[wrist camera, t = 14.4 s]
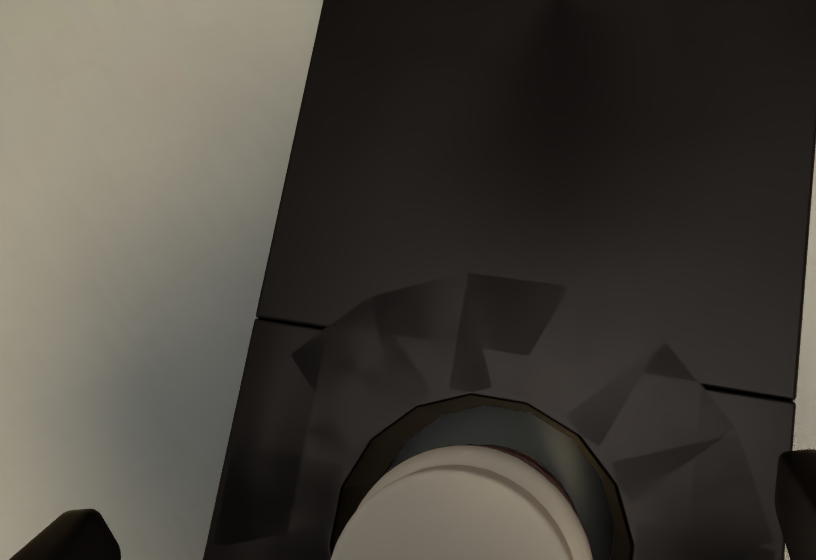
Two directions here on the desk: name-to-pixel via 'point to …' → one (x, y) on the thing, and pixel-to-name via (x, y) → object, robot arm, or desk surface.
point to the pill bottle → (465, 511)
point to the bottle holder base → (537, 261)
